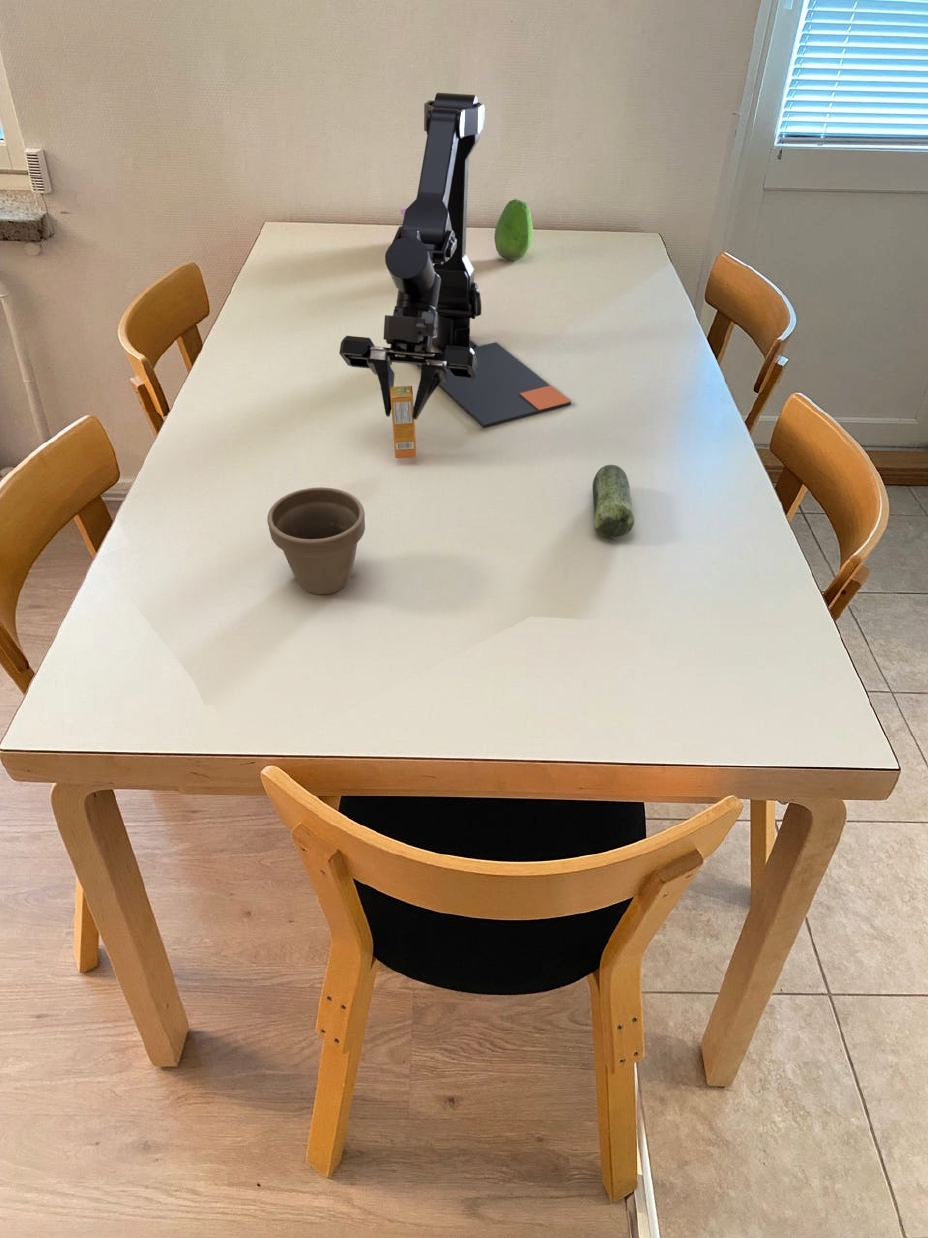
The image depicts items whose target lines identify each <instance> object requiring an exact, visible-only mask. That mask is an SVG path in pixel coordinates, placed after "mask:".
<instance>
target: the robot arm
mask: <svg viewBox="0 0 928 1238" xmlns="http://www.w3.org/2000/svg"><path fill="white" fill-rule="evenodd" d="M485 111H486V107H485V104H484V103H481V102H479V99H478V95H477V94H464V93H452V92H451V93H450V92H436V94H435V96H434V100H431V99H429V100H427V101H426V102H425V103H423V112H424V113H423V131H424V132H426V135H427V136H426V140H425V147H424V152H423V159H422V163H421V170H420V177H419V182H418V188H417V194H416V198H415V199H414V200H413V201H412V203H410V204H409V206H407V209H406V208H405V209H406V211H405V215H404V216H403V220H402V224H401V225H400V226H399V227H398V228H397V230H396V233H395V235H394V238H393V240H392V242H391V244H390V245H389V246H388V248H387V250H386V252H385V255H384V260H385V262H384V263H385V265H386V268H387V270H388V273H389V276H390V277H391V279H392V281H393V283H394V285H395V288H396V289H397V297H396V303H395V306H394V309H393V313H392V315H390V314H388V315H387V314H385V315H384V323H383V324H384V325H383V338H382V339H383V340H384V341H385V343H386V345H389V347H387V346H375V344H374V342H373V341H372V339H371V337H366V336H355V335H354V336H353V335H345V336H344V337H343V339H342V340H341V342H340V345H339V353H338V354H339V356H340V357H341V359H342V360H343V361H344V362H345V364H346V365H347V366H349V367H352V368H359V369H369V370H371V372H372V374H374V375H376V376H377V379H378V382H379V385H380V390H381V391H380V392H381V397H382V402H383V408H384V413H385V416H386V418H387V417H388V418H389V417H391V414H392V410H391V395H390V388H391V387H395V374H396V373H395V371H394V370H393V369H392V365H393V363H395V364H396V363H398V364H406V365H416V366H417V365H422V368H421V369H420V370H421V371H420V380H419V382H418V383H419V384H418V387H417V392H416V395H415V400H414V403H413V404H414V410H413V419H415V421H416V420H418V419H419V418H418V417H419V416H420V415H421V413H422V411H423V409H424V407H425V405H426V404H427V402H428V400H429V399H430V397H431V396H432V394H433V393H434V392H435V390H436V389H437V388H438V387H439V386H438V385H439V384H440V382H447V380H448V377H447V371H448V368H450V372H451V373H452V374H453V376H454V377H458V378H468V379H474V378H476V372H477V359H476V356H475V353H474V351H473V350H472V348H476V347H477V346H478V345H477V344H476V343H475V342H474V341H472V340H471V320H475V319H476V318H477V317H479V316H482V296H481V292H480V290H479V286H478V283H477V282H475V268H474V266H473V265H472V263H471V261H470V258H469V257H468V255H467V253H466V251H467V250H466V248H467V245H466V244H467V224H468V223H467V220H468V193H469V165H470V164H469V163H470V162H469V161H470V156H471V154H472V152H473V151H474V150H475V147H476V146H477V144H478V142H479V140H480V137H481V136H480V135H481V132H482V131H483V129H484V127H485V126H484V125H485V119H486V118H485V115H486V112H485ZM432 346H433V347H434V348H435V349H436V350H437V351H432ZM438 351H439V352H438Z"/></svg>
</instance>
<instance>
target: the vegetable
mask: <svg viewBox="0 0 928 1238" xmlns="http://www.w3.org/2000/svg"><path fill="white" fill-rule="evenodd" d="M592 498H593V499H592V501H593V513H594V514H593V515H594V516H593V527H594V530H595V531H596V533H597V534H598V535H600V536H602V537H604V538H609V539H610V538H611V539H616V538H620V537H623V536H625V535H628V533H630V532H631V530H632V529H633V527H634V524H635V516H634V511H633V506H632V497H631V487H630V482H629V479H628V476H627V474H626V472H625V470H624V469H623V468H621V466H619V465H615V464H607V465H604V466H601V468H599V469H598V471H597V472H596V474H595V476H594V478H593V481H592Z"/></svg>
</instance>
